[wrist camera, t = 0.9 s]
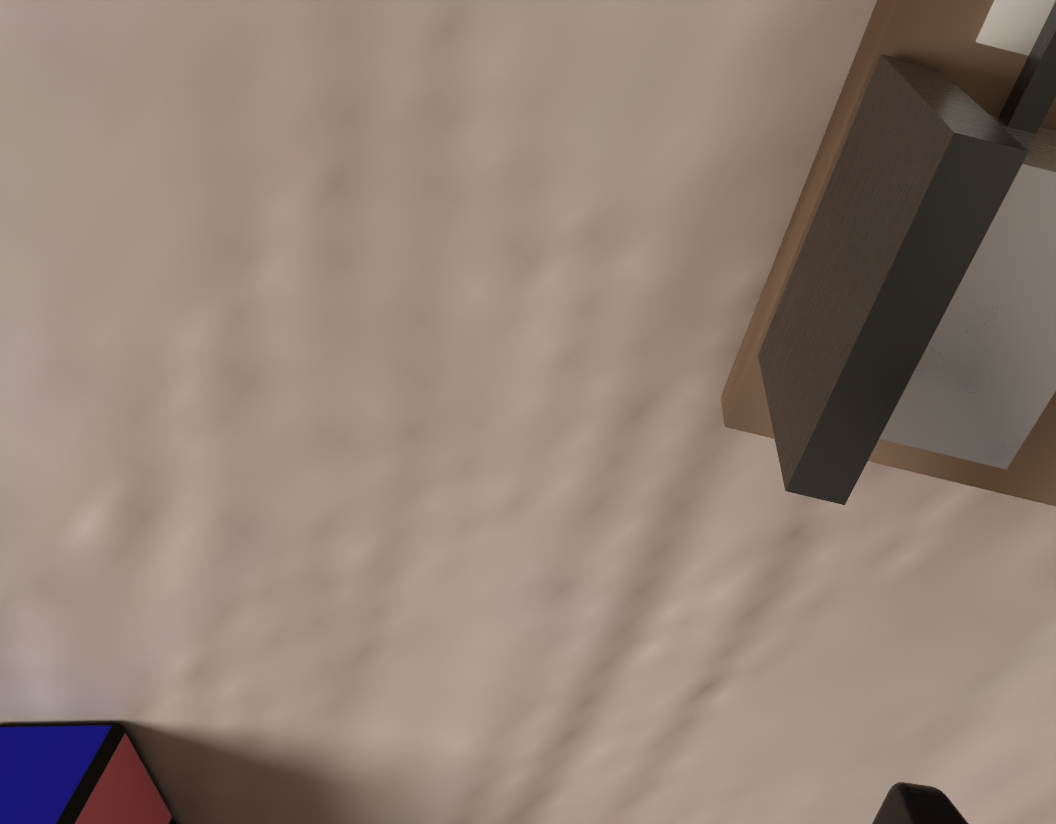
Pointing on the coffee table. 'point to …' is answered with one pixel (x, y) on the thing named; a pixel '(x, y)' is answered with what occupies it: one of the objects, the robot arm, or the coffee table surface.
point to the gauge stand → (895, 30)
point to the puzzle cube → (75, 777)
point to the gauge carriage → (922, 282)
